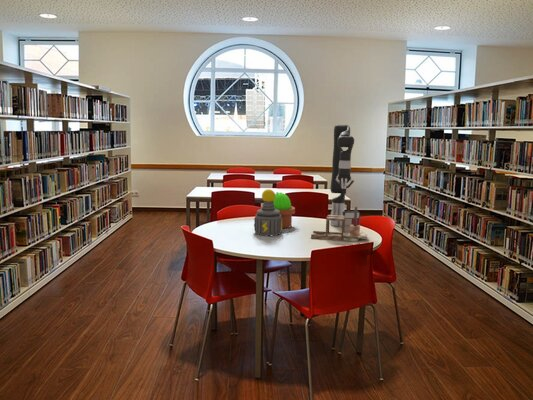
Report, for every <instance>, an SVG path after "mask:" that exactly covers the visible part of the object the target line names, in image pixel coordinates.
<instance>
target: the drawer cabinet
mask: <svg viewBox="0 0 533 400" xmlns="http://www.w3.org/2000/svg"><path fill="white" fill-rule="evenodd" d="M325 219H326V220H325V231H322V230H321V231H320V230H313V231H312V234H311V235H310V238H311V239H313V240H314V239H316V240H329V241H330V240H332V241H348V242H359V238H358V237H348V236H343V233H344V229H345V216H342V215H331V214H328V215H327V216H326V218H325ZM331 220H332V221H342V226H341V231H340V232H337V231H330V223H331Z"/></svg>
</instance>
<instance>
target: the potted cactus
mask: <svg viewBox="0 0 533 400" xmlns="http://www.w3.org/2000/svg"><path fill="white" fill-rule="evenodd" d="M273 202H274V203H273V204H274V207H275V209H277V210H279V211H280V215H281V218H282V229H287V228H290V227H292V221H293V217H292V216H293V215H294V214H295V213H296V207H295V206H292V203H291V199H290V198H289V196H288V195H287V194H286V193H284V192H275V200H274V201H273Z"/></svg>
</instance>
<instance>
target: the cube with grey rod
mask: <svg viewBox="0 0 533 400" xmlns="http://www.w3.org/2000/svg"><path fill="white" fill-rule="evenodd" d="M353 211H354V225H350V233H343V236H348V237H358V239H368V233H360V232H361V231H360V230H361V224H359V225H357V211H358V206H354V209H353Z"/></svg>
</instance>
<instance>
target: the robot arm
mask: <svg viewBox="0 0 533 400" xmlns="http://www.w3.org/2000/svg"><path fill="white" fill-rule="evenodd" d="M354 145H355V138H354V137H353V136H352V135H351V127H350V125H348V124H335V125H334V127H333V151H332V152H333V153H332V168H331V169H332V171H331V180H330V192H331V193H332V194H340V195H337V196H335V197H333V198H331V199H332V200H331V211H330V215H342V216H343V211H345V207H346V206H345V203H346V194H347V189H349V188H350V187H351V186H352V185H353V184H354V182H355V180H354V179H352V176H351V168H352V165H351V164H352V163H351V158H352V156H351V155H352V150H353V148H354ZM343 148H347V149H345V150H344V149H343ZM348 183H349V184H348ZM329 226H332V227H342V221H332V220H330V224H329Z"/></svg>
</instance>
